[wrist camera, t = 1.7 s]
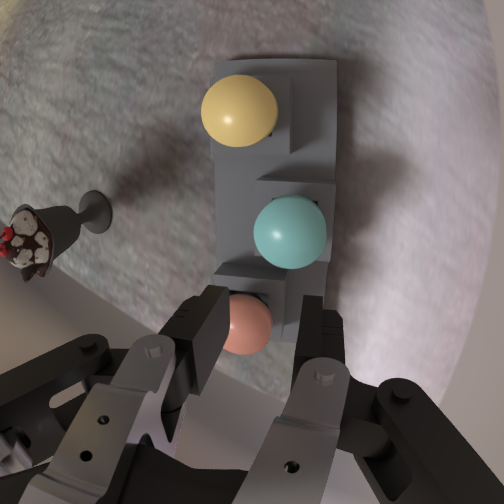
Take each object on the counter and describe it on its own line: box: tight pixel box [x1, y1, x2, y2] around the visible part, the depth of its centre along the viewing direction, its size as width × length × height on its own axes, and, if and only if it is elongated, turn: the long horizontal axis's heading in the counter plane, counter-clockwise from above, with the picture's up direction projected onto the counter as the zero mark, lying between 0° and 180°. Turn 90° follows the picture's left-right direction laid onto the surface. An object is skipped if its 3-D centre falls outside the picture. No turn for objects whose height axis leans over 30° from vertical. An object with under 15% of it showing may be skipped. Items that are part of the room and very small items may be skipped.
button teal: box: [254, 194, 327, 269], centre depth 22 cm, size 5×5×4 cm
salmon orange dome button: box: [223, 293, 273, 355], centre depth 26 cm, size 5×5×4 cm
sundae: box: [0, 191, 111, 283], centre depth 25 cm, size 7×7×15 cm
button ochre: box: [201, 75, 278, 147], centre depth 20 cm, size 5×5×4 cm
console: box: [210, 59, 337, 343], centre depth 26 cm, size 26×10×4 cm, turn 0°
